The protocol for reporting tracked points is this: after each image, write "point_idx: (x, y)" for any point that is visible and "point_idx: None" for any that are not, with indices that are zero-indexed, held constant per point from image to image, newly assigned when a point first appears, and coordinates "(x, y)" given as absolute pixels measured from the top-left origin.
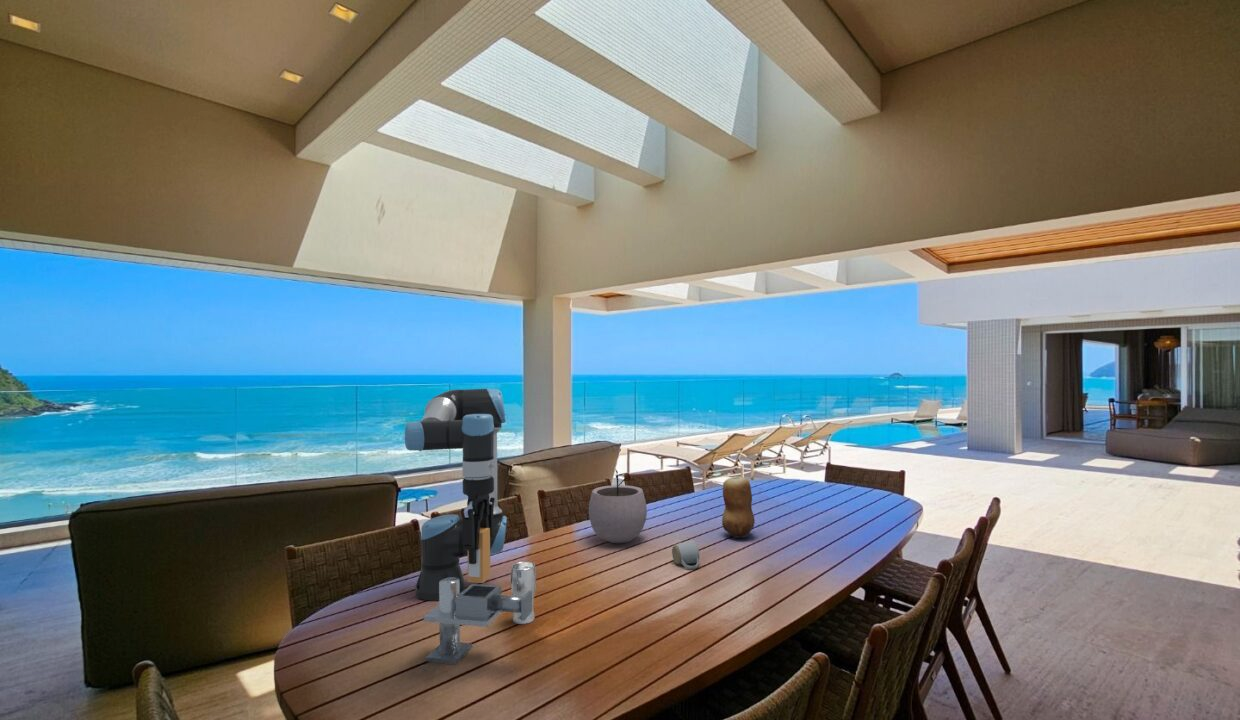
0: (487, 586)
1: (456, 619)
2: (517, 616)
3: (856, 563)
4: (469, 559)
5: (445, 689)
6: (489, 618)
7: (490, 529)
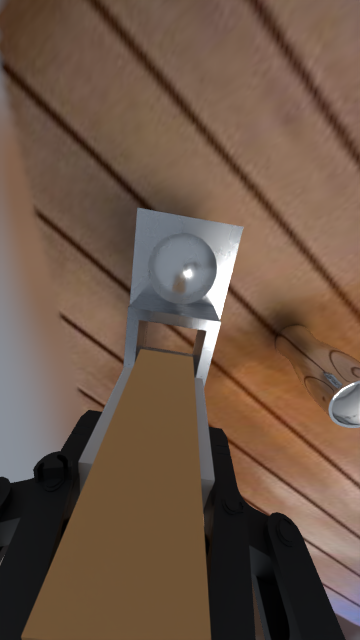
0: (199, 366)
1: (130, 297)
2: (284, 339)
3: (355, 614)
4: (74, 429)
5: (94, 282)
6: None
7: (265, 629)
